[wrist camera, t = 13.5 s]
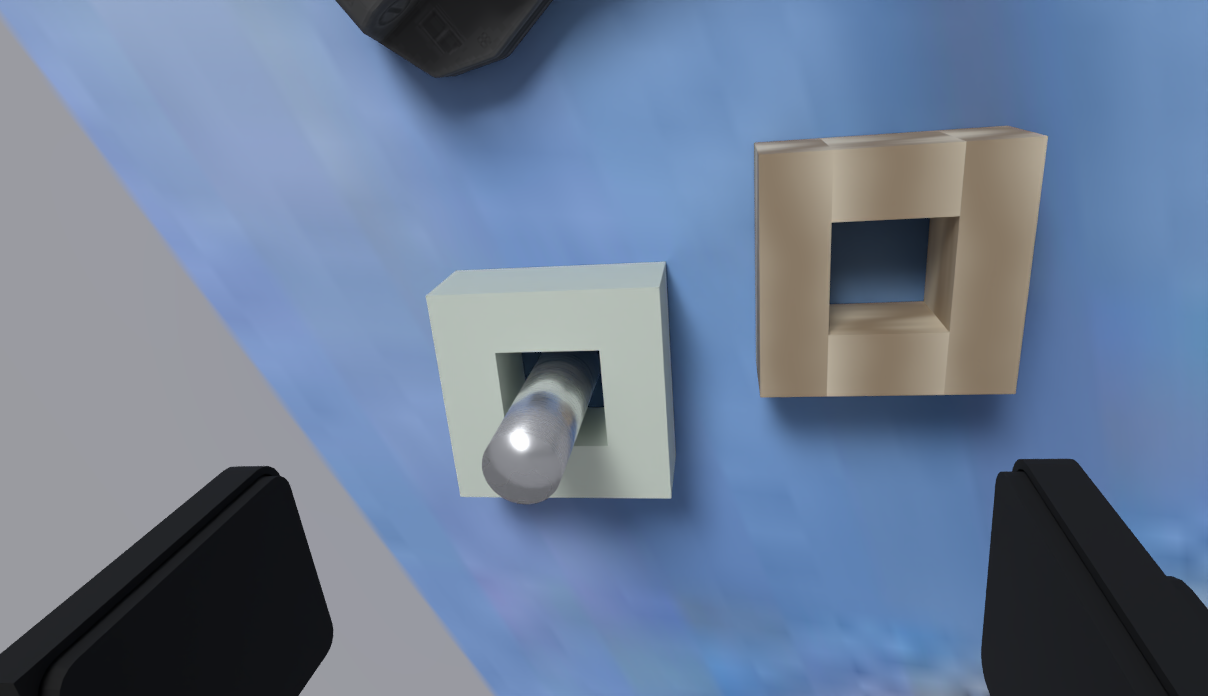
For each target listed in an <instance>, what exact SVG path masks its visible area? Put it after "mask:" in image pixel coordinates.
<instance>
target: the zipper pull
mask: <svg viewBox="0 0 1208 696" xmlns="http://www.w3.org/2000/svg"><path fill="white" fill-rule="evenodd" d="M552 1H553V0H336V2H337V3H338V4H339V5H340V6H341V7H342V9H343V10H344V11H345V12H346V13H347V14H348V16H349V17H350V18H351V19H352V20H353V21H354V23H355V24H356V25H357V26H358V27H359V28H360V30H361V31H362V32H363V33H364V34H366V35H368V36H369V37H371V38H373V39H374V40H376V41H378V42H379V43H381V44H382V45H384V46H385V47H387V48H389V49H390V50H392V51H393V52H395V53H396V54H398V55H400V56H401V57H403V58H404V59H406V60H407V61H409V62H410V63H412V64H414V65H415V66H417V67H418V68H420V69H421V70H423V71H424V72H426V73H428V74H429V75H431V76H432V77H435V78H440V77H450V76H456V75H459V74H462V73H465V72H468V71H470V70H473V69H476V68H479V67H482V66H484V65H487V64H490V63H493V62H496V61H498V60H501V59H504V58H506V57H508V56H509V55H510V54H511V53H512V52H513V51H514V49H515V48H516V47H517V45H518V44H519V43H520V42H521V40H522V39H523V38H524V36H525V35H526V34H527V33H528V31H529V30H530V29H531V27H532V26H533V25H534V24H535V22H536V21H537V20H538V19H539V17H540V16H541V15H542V13H543V12H544V11H545V10H546V8H547V7H548V6H549V4H550V3H551V2H552Z"/></svg>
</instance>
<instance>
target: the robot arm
mask: <svg viewBox="0 0 1208 696" xmlns="http://www.w3.org/2000/svg"><path fill="white" fill-rule="evenodd" d="M332 639H333V626H332V621H331V618H330V615H329V611H328V608H327V605H326V601H325V598H324V595H323V592H322V588H321V585H320V582H319V579H318V575H317V572H316V569H315V566H314V562H313V559H312V556H311V552H310V549H309V546H308V543H307V539H306V536H305V533H304V530H303V526H302V523H301V520H300V516H299V513H298V510H297V507H296V503H295V500H294V497H293V493H292V490H291V487H290V485H289V482H288V481H287V480H286V479H285V478H284V477H281V476H280V475H279V473H278V472H277V471H276V470H275V469H274V468H272V467H269V466H246V467H245V466H243V467H229V468H228V469H226V470H224V471H223V472H222V473H220V474H219V475H218V476H217V477H215V478H214V479H213V480H212V481H211V482H209V483H208V484H207V485H206V486H205V487H203V488H202V489H201V490H200V491H198V492H197V493H196V494H195V495H194V496H192V497H191V498H190V499H189V500H187V501H186V502H185V503H184V504H183V505H181V506H180V507H179V508H178V509H176V510H175V511H174V512H173V513H172V514H170V515H169V516H168V517H167V518H165V519H164V520H163V521H162V522H161V523H159V524H158V525H157V526H156V527H154V528H153V529H152V530H151V531H150V532H148V533H147V534H146V535H145V536H143V537H142V538H141V539H140V540H139V541H137V542H136V543H135V544H134V545H133V546H132V547H130V548H129V549H128V550H126V551H125V552H124V553H123V554H122V555H120V556H119V557H118V558H117V559H115V560H114V561H113V562H112V563H111V564H109V565H108V566H107V567H106V568H104V569H103V570H102V571H101V572H100V573H98V574H97V575H96V576H95V577H94V578H92V579H91V580H90V581H89V582H87V583H86V584H85V585H84V586H83V587H81V588H80V589H79V590H78V591H76V592H75V593H74V594H73V595H72V596H70V597H69V598H68V599H67V600H66V601H64V602H63V603H62V604H61V605H59V606H58V607H57V608H56V609H55V610H53V611H52V612H51V613H50V614H48V615H47V616H46V617H45V618H44V619H42V620H41V621H40V622H39V623H37V624H36V625H35V626H34V627H33V628H31V629H30V630H29V631H28V632H27V633H25V634H24V635H23V636H22V637H20V638H19V639H18V640H17V641H15V642H14V643H13V644H12V645H11V646H9V647H8V648H7V649H6V650H5V651H3V652H2V653H1V654H0V696H299V694H300V693H301V691H302V690H303V688H304V687H305V685H306V684H307V682H308V681H309V679H310V678H311V677H312V675H313V674H314V672H315V671H316V669H317V668H318V666H319V665H320V663H321V662H322V661H323V659H324V658H325V656H326V655H327V653H328V651H329V649H330V647H331V644H332ZM981 659H982V668H983V674H984V678H985V682H986V685H987V688H988V690H989V693H990V696H1208V609H1207V608H1206V606H1205V605H1204V604H1203V603H1202V601H1201V600H1200V599H1199V598H1198V596H1197V595H1196V594H1195V593H1194V592H1193V590H1192V589H1191V588H1190V587H1188V586H1187V585H1186V584H1185V583H1184V582H1183V581H1182V580H1180V579H1177V578H1175V577H1172V576H1166V575H1165V574H1164V573H1163V571H1162V570H1161V569H1160V567H1159V566H1158V565H1157V564H1156V562H1155V561H1154V560H1153V558H1152V557H1151V556H1150V555H1149V553H1148V552H1147V551H1146V550H1145V548H1144V547H1143V546H1142V544H1141V543H1140V542H1139V541H1138V539H1137V538H1136V537H1135V535H1134V534H1133V533H1132V532H1131V530H1130V529H1129V528H1128V527H1127V525H1126V524H1125V523H1124V521H1123V520H1122V519H1121V518H1120V516H1119V515H1118V514H1117V512H1116V511H1115V510H1114V509H1113V507H1112V506H1111V505H1110V504H1109V502H1108V501H1107V500H1106V498H1105V497H1104V496H1103V495H1102V493H1101V492H1100V491H1099V489H1098V488H1097V487H1096V486H1095V484H1094V483H1093V482H1092V480H1091V479H1090V478H1089V477H1088V475H1087V474H1086V473H1085V472H1084V470H1083V469H1082V468H1081V466H1080V465H1079V464H1078V463H1077V462H1076V461H1075V460H1074V459H1018V460H1017V461H1016V462H1015V464H1014V467H1013V471H1012V472H1000V473H999V474H998V476H997V478H996V484H995V496H994V508H993V519H992V531H991V543H990V554H989V566H988V577H987V589H986V601H985V612H984V624H983V636H982V647H981Z"/></svg>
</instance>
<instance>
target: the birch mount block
mask: <svg viewBox="0 0 1208 696" xmlns="http://www.w3.org/2000/svg"><path fill="white" fill-rule="evenodd" d="M1047 140H1048V136H1046V135H1042V134H1038V133H1034V132H1030V131H1026V130H1022V129H1018V128H1014V127H1010V126H997V127H982V128H967V129H952V130H937V131H922V132H907V133H892V134H878V135H863V136H848V137H833V138H818V139H803V140H788V141H773V142H758V143H754V187H755V297H756V365H757V373H758V381H759V389H760V397H823V396H898V395H972V394H1015V393H1016V385H1017V377H1018V370H1019V362H1020V354H1021V346H1022V338H1023V330H1024V322H1025V314H1026V306H1027V298H1028V290H1029V282H1030V275H1031V267H1032V259H1033V251H1034V243H1035V235H1036V227H1037V219H1038V211H1039V203H1040V195H1041V187H1042V180H1043V172H1044V164H1045V156H1046V148H1047ZM914 218H930V225H929V238H928V252H927V265H926V279H925V292H924V301H916V302H886V303H855V304H829V297H830V261H831V225H832V223H833V222H853V221H873V220H893V219H914Z"/></svg>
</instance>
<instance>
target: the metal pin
mask: <svg viewBox="0 0 1208 696" xmlns="http://www.w3.org/2000/svg"><path fill="white" fill-rule="evenodd" d="M600 371H601V364H600V358H599V355H598V353H597V351H596V350H595V351H553V352H542V354H541V355H540V357H539V359H538V361H537V362H536V364H535V366H534V367H533V369H532V371H531V373H530V374H529V376H528V378H527V379H526V381H525V383H524V385H523V386H522V388H521V390H520V391H519V393H518V395H517V397H516V398H515V400H514V402H513V403H512V405H511V407H510V409H509V410H508V412H507V414H506V415H505V417H504V419H503V421H502V422H501V424H500V426H499V427H498V429H497V431H496V433H495V434H494V436H493V438H492V439H491V441H490V443H489V445H488V446H487V448H486V450H485V451H484V454H483V458H482V471H483V475H484V477H485V480H486V481H487V483H488V485H489V486H490V487H491V488H492V490H493V491H494V492H496V493H497V494H498V495H499V496H501V497H502V498H504V499H506V500H508V501H511V502H514V503H518V504H535V503H539V502H542V501H544V500H546V499H547V498H549V497H550V496H551V495H553V493H554V492H555V491H556V490H557V488H558V486H559V484H560V481H561V479H562V476H563V473H564V470H565V468H566V465H567V462H568V460H569V457H570V454H571V451H572V449H573V446H574V443H575V440H576V438H577V435H578V432H579V429H580V427H581V424H582V421H583V419H584V416H585V413H586V410H587V408H588V405H589V402H590V399H591V397H592V394H593V391H594V389H595V386H596V383H597V380H598V378H599V375H600Z"/></svg>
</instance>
